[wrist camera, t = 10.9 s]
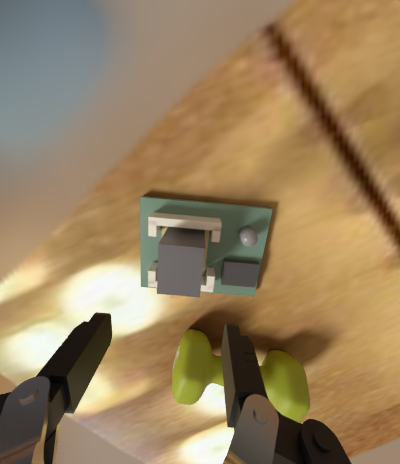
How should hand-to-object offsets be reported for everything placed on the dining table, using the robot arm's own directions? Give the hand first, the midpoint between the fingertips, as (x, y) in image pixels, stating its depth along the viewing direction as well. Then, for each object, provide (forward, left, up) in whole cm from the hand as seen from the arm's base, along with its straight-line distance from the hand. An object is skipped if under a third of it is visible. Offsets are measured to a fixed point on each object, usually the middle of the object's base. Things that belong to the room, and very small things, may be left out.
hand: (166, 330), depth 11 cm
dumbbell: (-8, +16, -13) cm, 22 cm away
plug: (0, 0, -11) cm, 11 cm away
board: (-2, 0, -13) cm, 13 cm away
